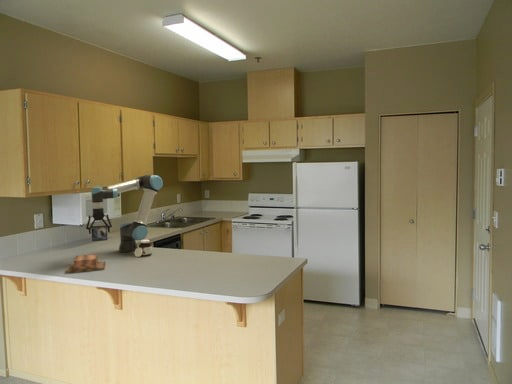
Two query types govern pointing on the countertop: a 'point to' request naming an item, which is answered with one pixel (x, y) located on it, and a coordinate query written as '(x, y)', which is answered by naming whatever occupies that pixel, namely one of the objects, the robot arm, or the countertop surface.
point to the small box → (99, 233)
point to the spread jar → (144, 248)
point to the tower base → (99, 267)
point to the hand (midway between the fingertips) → (99, 237)
